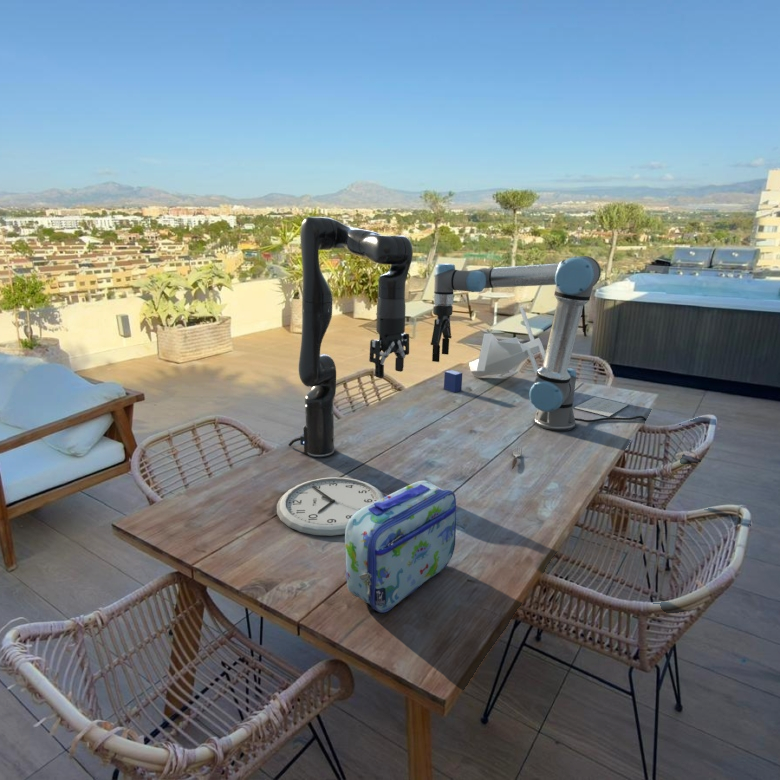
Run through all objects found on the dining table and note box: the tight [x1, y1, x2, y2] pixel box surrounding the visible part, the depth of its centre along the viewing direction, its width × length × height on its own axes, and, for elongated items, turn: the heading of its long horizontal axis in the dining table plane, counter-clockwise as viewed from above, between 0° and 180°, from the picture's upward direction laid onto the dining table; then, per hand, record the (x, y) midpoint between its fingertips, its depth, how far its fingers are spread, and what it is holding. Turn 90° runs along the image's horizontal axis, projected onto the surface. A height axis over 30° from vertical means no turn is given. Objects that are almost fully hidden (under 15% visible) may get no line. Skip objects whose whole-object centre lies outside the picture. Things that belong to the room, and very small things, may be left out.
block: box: [443, 369, 463, 393], centre depth 245 cm, size 5×7×9 cm
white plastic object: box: [468, 306, 546, 378], centre depth 259 cm, size 37×45×31 cm
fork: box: [511, 445, 523, 470], centre depth 172 cm, size 3×16×2 cm, turn 160°
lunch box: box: [344, 480, 457, 614], centre depth 109 cm, size 26×11×21 cm, turn 135°
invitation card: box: [573, 396, 629, 418], centre depth 226 cm, size 21×1×15 cm
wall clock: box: [276, 476, 386, 537], centre depth 142 cm, size 30×2×30 cm
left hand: (389, 374), depth 142 cm, fingers open, 8 cm apart
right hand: (440, 357), depth 209 cm, fingers open, 13 cm apart
